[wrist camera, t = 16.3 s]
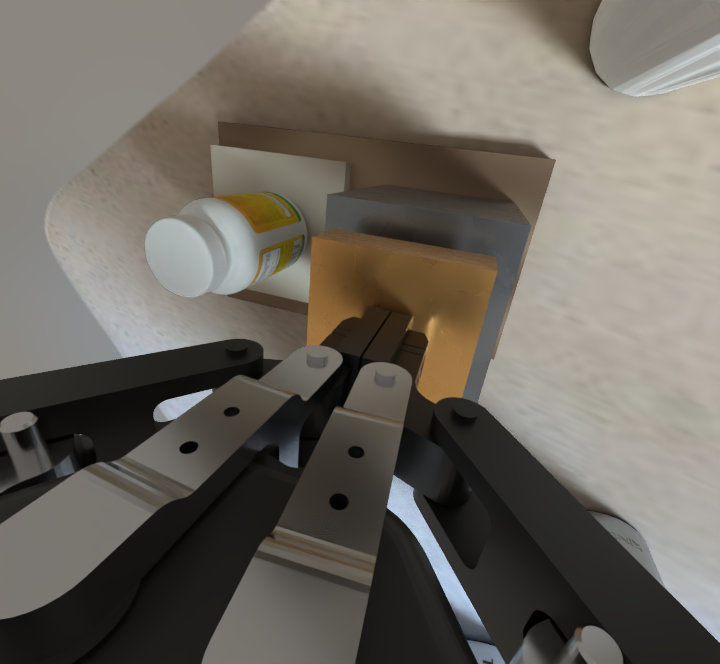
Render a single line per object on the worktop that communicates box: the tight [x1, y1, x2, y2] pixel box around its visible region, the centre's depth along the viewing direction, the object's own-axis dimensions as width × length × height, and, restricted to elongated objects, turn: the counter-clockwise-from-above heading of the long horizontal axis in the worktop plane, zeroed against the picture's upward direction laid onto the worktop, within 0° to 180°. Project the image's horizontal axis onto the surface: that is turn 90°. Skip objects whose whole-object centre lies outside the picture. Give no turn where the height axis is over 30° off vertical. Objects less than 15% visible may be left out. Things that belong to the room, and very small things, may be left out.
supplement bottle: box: [145, 191, 307, 298], centre depth 22 cm, size 5×5×10 cm
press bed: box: [210, 122, 556, 359], centre depth 26 cm, size 13×22×2 cm, turn 83°
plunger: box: [306, 229, 497, 404], centre depth 18 cm, size 6×6×12 cm
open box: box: [325, 184, 531, 403], centre depth 20 cm, size 8×8×10 cm
